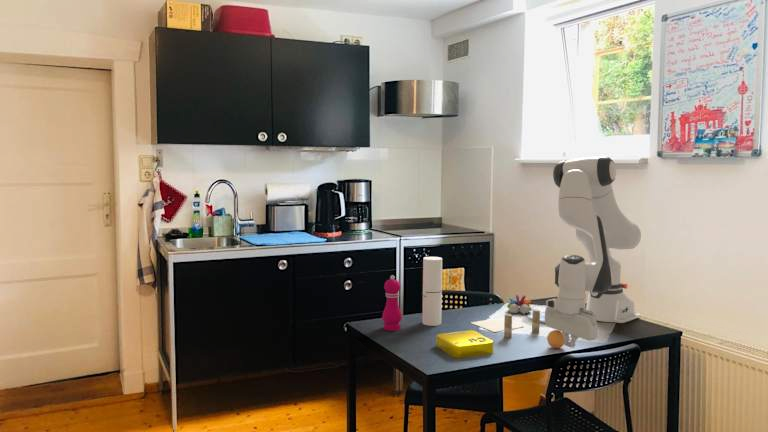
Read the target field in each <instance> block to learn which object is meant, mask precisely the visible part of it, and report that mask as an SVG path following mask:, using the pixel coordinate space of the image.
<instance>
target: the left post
mask: <svg viewBox="0 0 768 432" xmlns="http://www.w3.org/2000/svg"><path fill="white" fill-rule="evenodd" d="M504 320H505V321H504V331H503V337H504V338H505V339H512V333H513V332H512V331H513V329H512V323H513V315H512V314H510V313H507V314H504Z"/></svg>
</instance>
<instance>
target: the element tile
mask: <svg viewBox="0 0 768 432" xmlns="http://www.w3.org/2000/svg"><path fill="white" fill-rule="evenodd" d="M435 345H436V348H438V349H439V350H441V351H442V352H444V353H446V354H447V355H448V356H450V357H452V358H455V359H463V358H471V357H479V356H484V355H492V354H494V341H493V340H492V339H491V338H488V337H486V336H484V335H482V334H481V333H479V332H478V331H475V330H473V329H470V330H460V331H452V332H445V333H443V332H442V333H438V334H437V335H436V343H435Z"/></svg>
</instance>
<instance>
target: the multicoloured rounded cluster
mask: <svg viewBox="0 0 768 432" xmlns="http://www.w3.org/2000/svg"><path fill="white" fill-rule="evenodd" d="M526 297H527V296H526V295H525V294H524V295H522V296H521V299H520V296H519V294H515V298H516V300H515V299H514V298H513V297H509V301H510V302H509V303H508V304H507V305H506V308H507V309H508V310H509V312H510V313H511V314H513V313H516V314H518V313H519V312H520V314H522V313H523V314H522V315H526V314H525V313H527V314H529V312H530V311H532V307H531V305H530V304H531V303H532V301H531V300H530V299H528V300H525V299H526Z"/></svg>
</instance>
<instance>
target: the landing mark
mask: <svg viewBox="0 0 768 432" xmlns="http://www.w3.org/2000/svg"><path fill="white" fill-rule="evenodd" d="M496 318H497V317H496ZM496 318H489V319H484V320H478V321H471V322H470V324H472V325H474V326H476V327H480V328H482V329H484V328H485V329H484V330H487V331H489V330H490V331H489V332H492V333H499V332H504V321H505V319H504V320H503V318H501V319H502V320H503V321H502V320H500V319H499V320H497V319H496ZM502 324H503V325H502ZM498 325H499V326H498ZM501 325H502V326H501ZM520 327H522V328H524V326H522V325H520V324H518V323H514V322H512V330H515V328H516V329H521V328H520ZM498 331H499V332H498Z"/></svg>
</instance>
